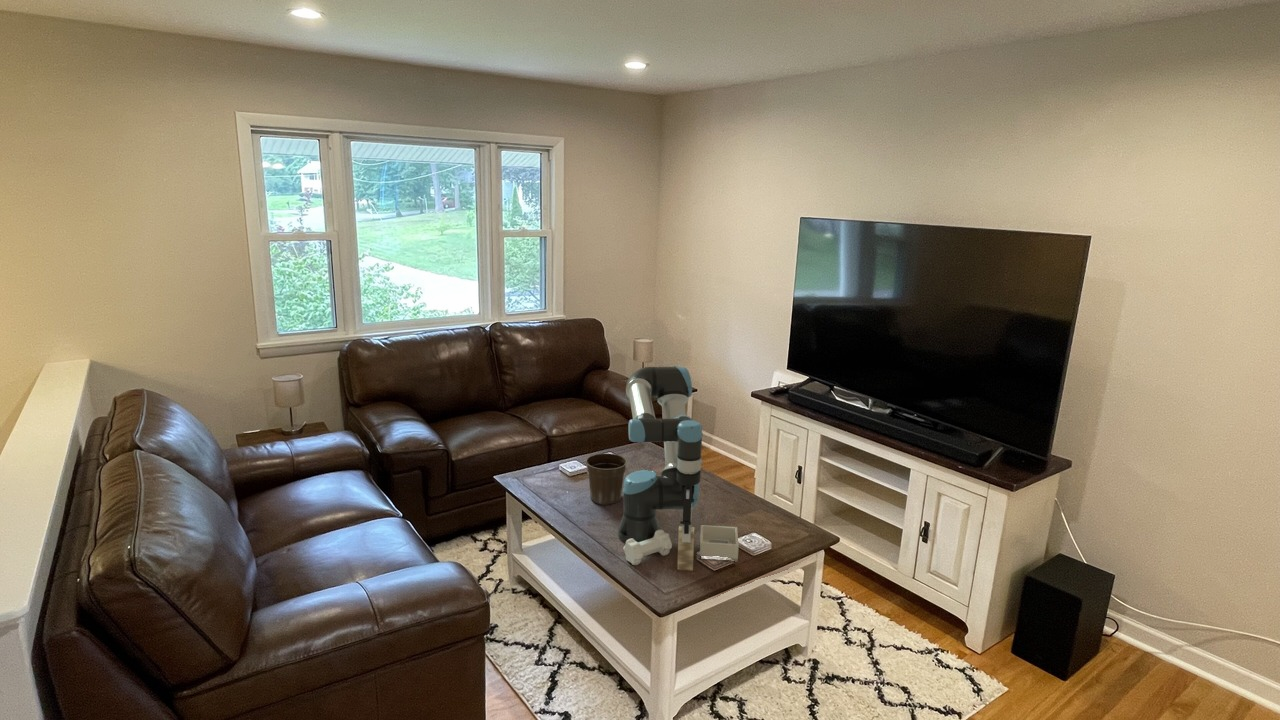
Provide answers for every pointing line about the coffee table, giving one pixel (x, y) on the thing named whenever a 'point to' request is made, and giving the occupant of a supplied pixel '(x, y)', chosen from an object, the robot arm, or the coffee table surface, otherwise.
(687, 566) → the wooden wick block
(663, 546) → the dog bone
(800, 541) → the coffee table surface
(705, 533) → the open rectangular box
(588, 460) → the plant pot
